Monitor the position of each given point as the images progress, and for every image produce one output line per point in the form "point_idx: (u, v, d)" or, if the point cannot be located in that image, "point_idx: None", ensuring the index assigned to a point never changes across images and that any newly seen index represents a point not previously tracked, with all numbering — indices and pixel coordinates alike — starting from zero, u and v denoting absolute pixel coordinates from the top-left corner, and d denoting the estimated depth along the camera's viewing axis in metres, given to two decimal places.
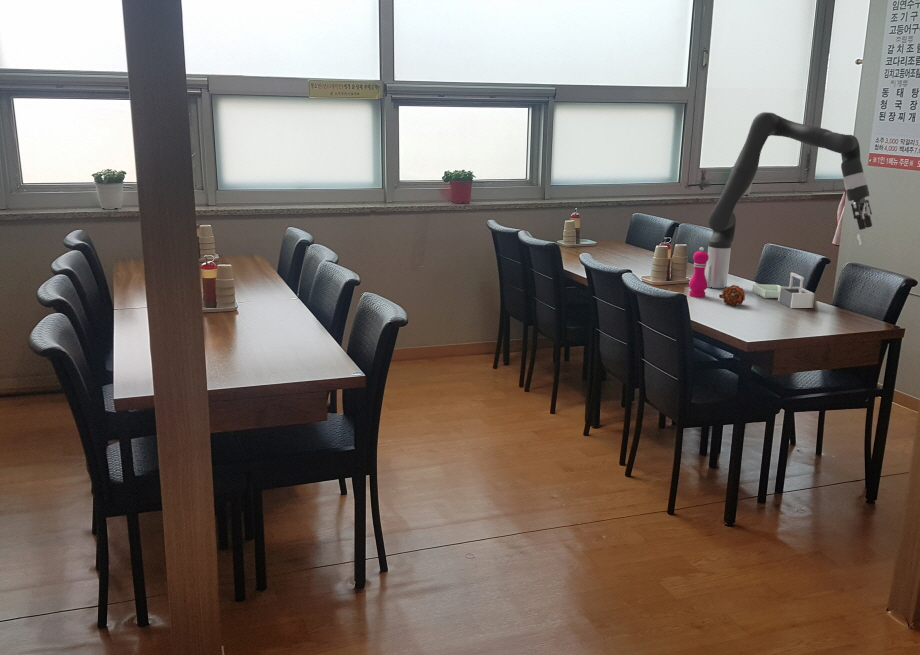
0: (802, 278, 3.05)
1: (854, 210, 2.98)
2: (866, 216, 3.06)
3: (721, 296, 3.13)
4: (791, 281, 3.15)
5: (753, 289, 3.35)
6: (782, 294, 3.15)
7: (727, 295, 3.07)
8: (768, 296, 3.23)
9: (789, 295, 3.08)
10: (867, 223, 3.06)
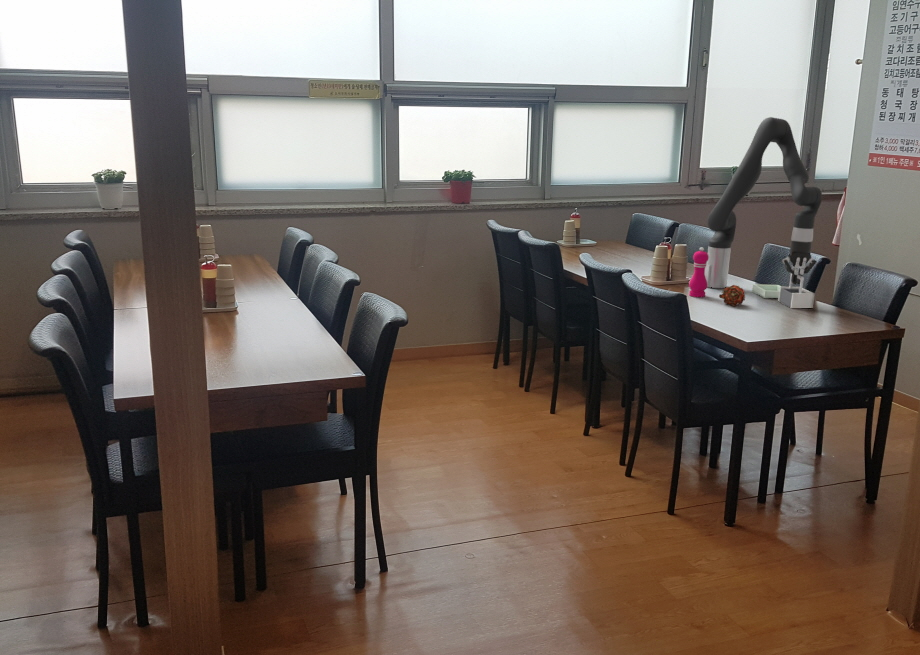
0: (802, 278, 3.05)
1: (785, 266, 3.10)
2: (799, 273, 3.10)
3: (721, 296, 3.13)
4: None
5: (753, 289, 3.35)
6: (782, 294, 3.15)
7: (727, 295, 3.07)
8: (768, 296, 3.23)
9: (789, 295, 3.08)
10: (797, 280, 3.11)
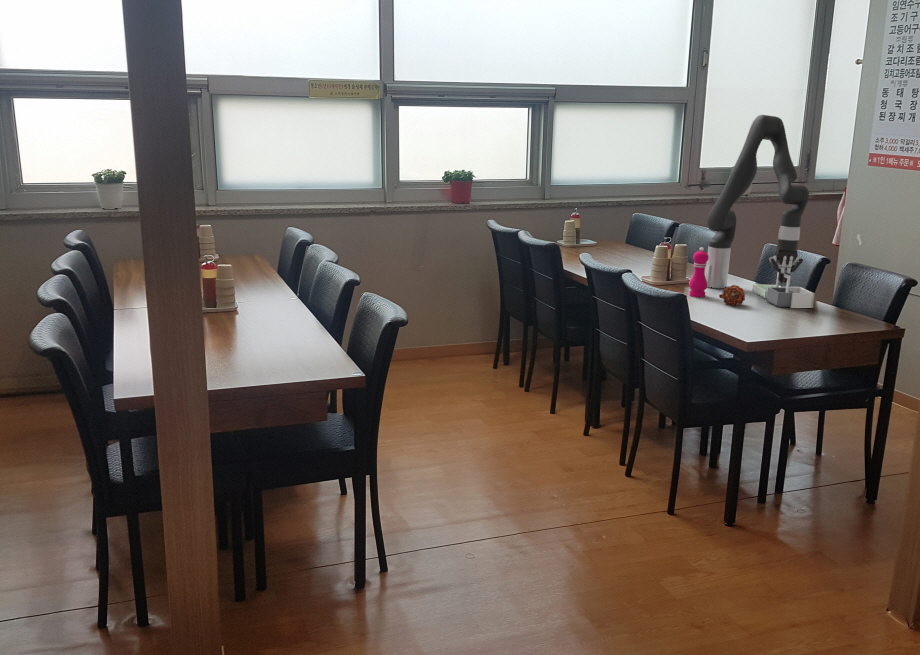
0: (789, 277, 3.05)
1: (772, 264, 3.10)
2: (785, 271, 3.10)
3: (721, 296, 3.13)
4: None
5: (753, 289, 3.35)
6: (769, 293, 3.15)
7: (727, 295, 3.07)
8: None
9: (776, 293, 3.08)
10: (784, 278, 3.11)
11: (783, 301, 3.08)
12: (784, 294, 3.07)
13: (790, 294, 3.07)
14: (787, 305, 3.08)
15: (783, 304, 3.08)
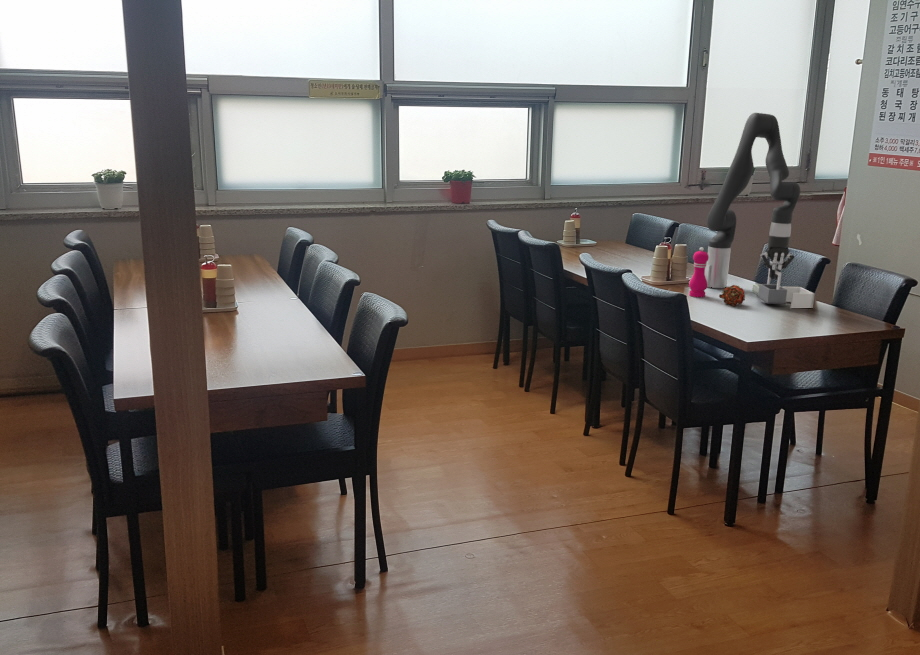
0: (780, 274, 3.05)
1: (763, 261, 3.09)
2: (777, 268, 3.09)
3: (721, 296, 3.13)
4: (769, 277, 3.15)
5: (753, 289, 3.35)
6: (760, 290, 3.15)
7: (727, 295, 3.07)
8: None
9: (767, 290, 3.08)
10: (775, 275, 3.10)
11: (774, 298, 3.07)
12: (775, 291, 3.07)
13: (781, 291, 3.07)
14: (778, 302, 3.08)
15: (774, 301, 3.08)
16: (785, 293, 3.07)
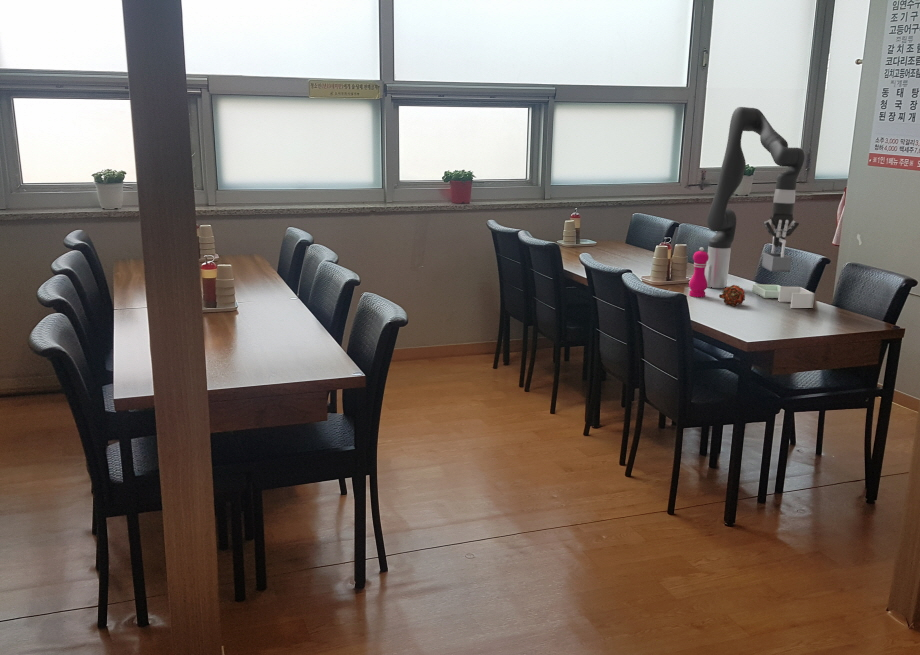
0: (784, 241, 3.02)
1: (767, 228, 3.06)
2: (781, 235, 3.06)
3: (721, 296, 3.13)
4: (773, 245, 3.11)
5: (753, 289, 3.35)
6: (764, 258, 3.11)
7: (727, 295, 3.07)
8: (768, 296, 3.23)
9: (771, 258, 3.05)
10: (779, 243, 3.07)
11: (778, 266, 3.04)
12: (779, 259, 3.03)
13: (785, 259, 3.03)
14: (782, 270, 3.04)
15: (778, 269, 3.04)
16: (789, 261, 3.04)
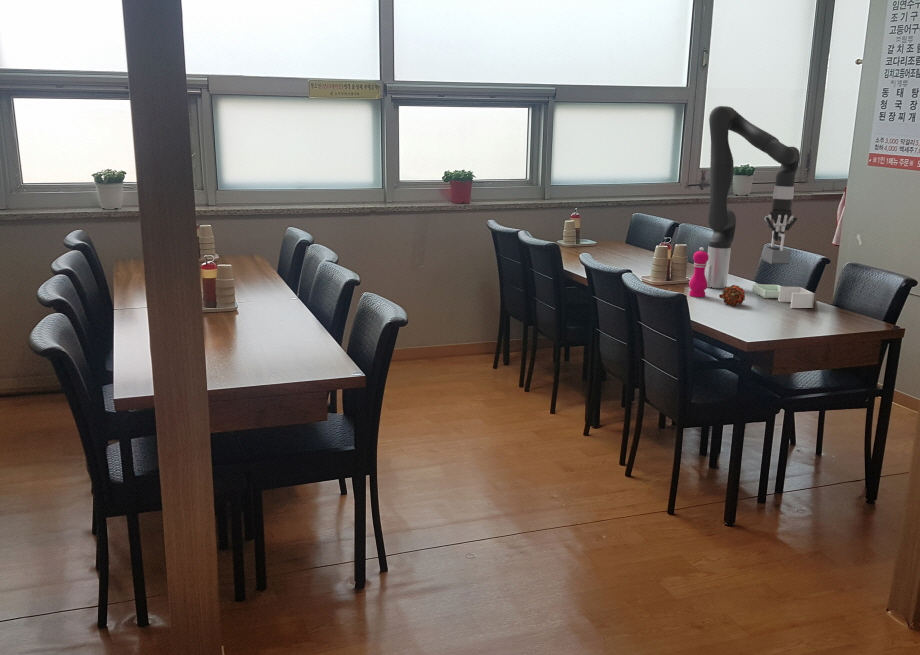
0: (783, 235, 3.19)
1: (767, 223, 3.23)
2: (780, 230, 3.24)
3: (721, 296, 3.13)
4: (773, 239, 3.29)
5: (753, 289, 3.35)
6: (764, 252, 3.29)
7: (727, 295, 3.07)
8: (768, 296, 3.23)
9: (771, 251, 3.22)
10: (779, 237, 3.25)
11: (777, 259, 3.22)
12: (778, 252, 3.21)
13: (784, 252, 3.21)
14: (781, 263, 3.22)
15: (777, 262, 3.22)
16: (788, 254, 3.21)
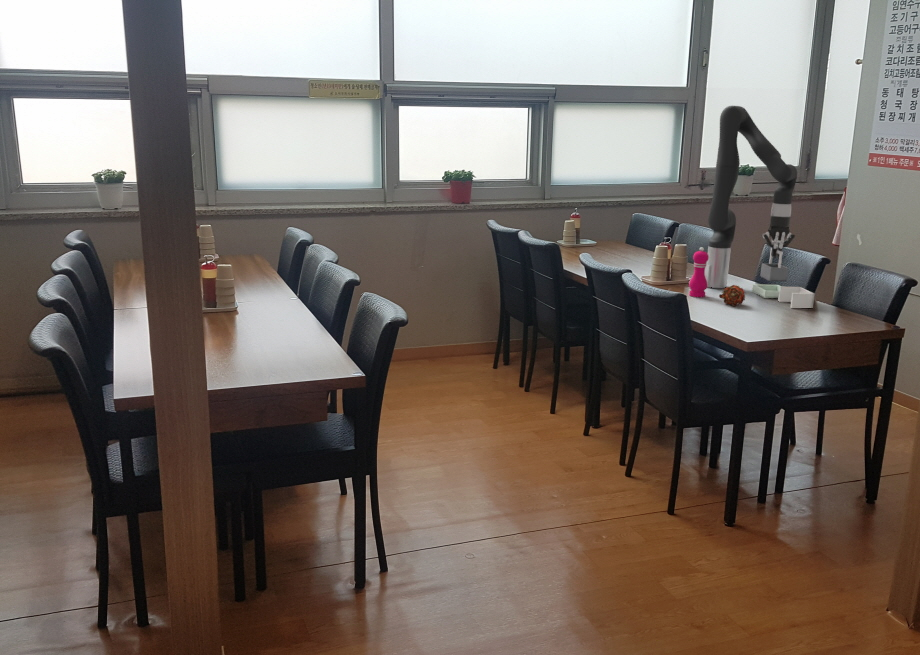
0: (781, 252, 3.21)
1: (765, 240, 3.25)
2: (778, 247, 3.25)
3: (721, 296, 3.13)
4: (771, 256, 3.31)
5: (753, 289, 3.35)
6: (762, 269, 3.31)
7: (727, 295, 3.07)
8: (768, 296, 3.23)
9: (769, 268, 3.24)
10: (777, 254, 3.26)
11: (776, 276, 3.23)
12: (776, 269, 3.23)
13: (782, 269, 3.23)
14: (779, 280, 3.24)
15: (776, 279, 3.24)
16: (786, 271, 3.23)
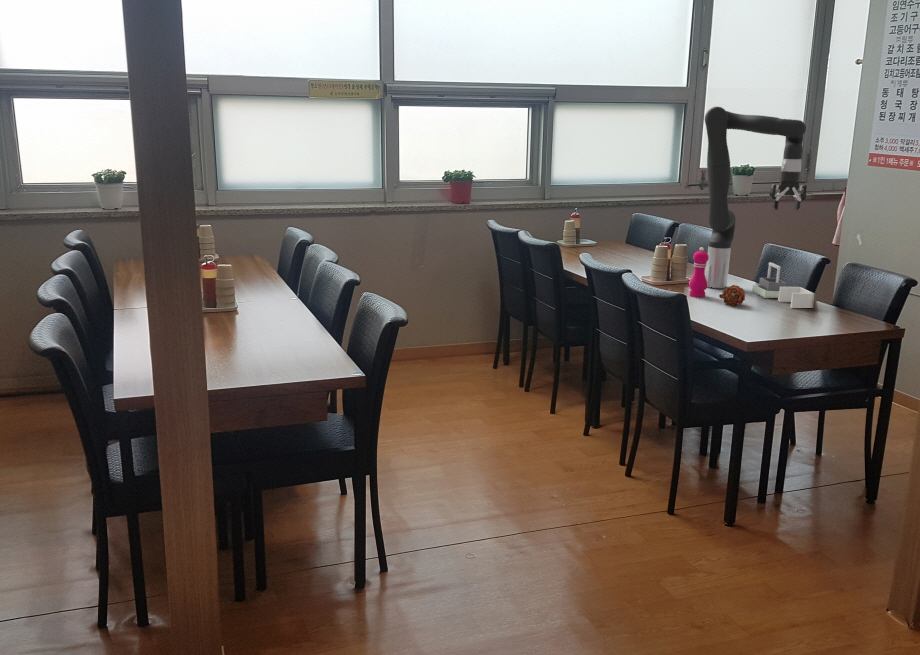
0: (779, 267, 3.23)
1: (771, 191, 3.30)
2: (797, 199, 3.31)
3: (721, 296, 3.13)
4: (769, 270, 3.32)
5: (753, 289, 3.35)
6: (761, 283, 3.32)
7: (727, 295, 3.07)
8: (768, 296, 3.23)
9: (767, 283, 3.26)
10: (795, 206, 3.31)
11: (773, 290, 3.25)
12: (774, 284, 3.24)
13: (780, 284, 3.24)
14: None
15: None
16: (784, 286, 3.24)
